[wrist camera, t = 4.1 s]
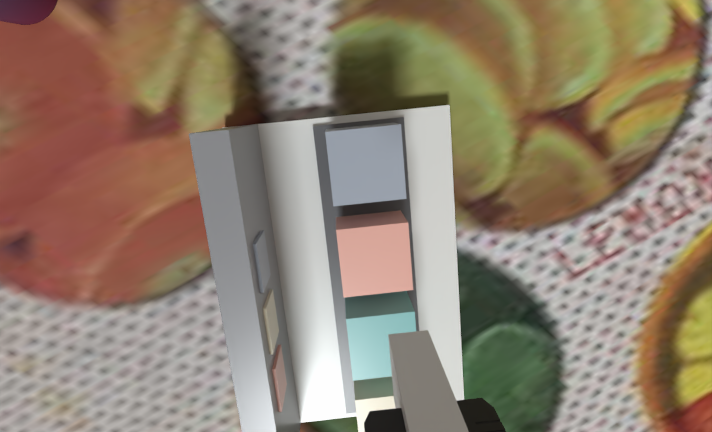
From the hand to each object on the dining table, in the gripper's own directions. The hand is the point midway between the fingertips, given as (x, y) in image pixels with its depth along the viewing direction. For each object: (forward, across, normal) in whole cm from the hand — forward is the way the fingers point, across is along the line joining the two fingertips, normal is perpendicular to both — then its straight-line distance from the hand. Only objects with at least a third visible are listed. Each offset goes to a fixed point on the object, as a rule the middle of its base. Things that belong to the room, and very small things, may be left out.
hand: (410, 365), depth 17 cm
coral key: (+16, 0, 0) cm, 16 cm away
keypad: (+18, -2, -3) cm, 19 cm away
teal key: (+16, 0, -6) cm, 17 cm away
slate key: (+16, 0, +6) cm, 17 cm away
